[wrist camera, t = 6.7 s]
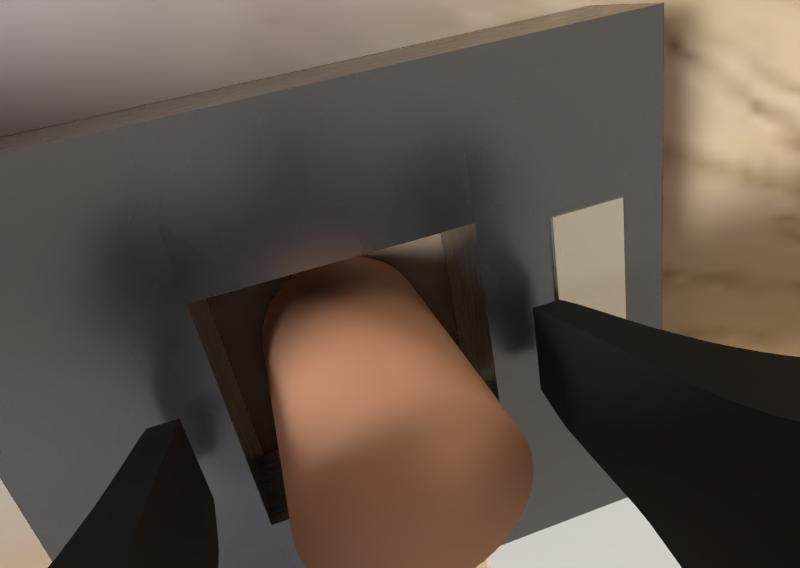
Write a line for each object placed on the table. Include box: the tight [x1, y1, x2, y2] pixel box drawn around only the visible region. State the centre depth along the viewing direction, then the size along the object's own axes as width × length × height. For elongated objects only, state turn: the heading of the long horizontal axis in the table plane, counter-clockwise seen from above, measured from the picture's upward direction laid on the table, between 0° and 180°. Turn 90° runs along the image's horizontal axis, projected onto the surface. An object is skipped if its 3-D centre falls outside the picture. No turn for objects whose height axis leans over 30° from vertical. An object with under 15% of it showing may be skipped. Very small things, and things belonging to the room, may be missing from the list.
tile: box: [486, 497, 682, 568], centre depth 20 cm, size 7×7×1 cm
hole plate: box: [0, 3, 664, 568], centre depth 14 cm, size 12×14×3 cm
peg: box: [262, 256, 533, 568], centre depth 12 cm, size 4×4×6 cm
